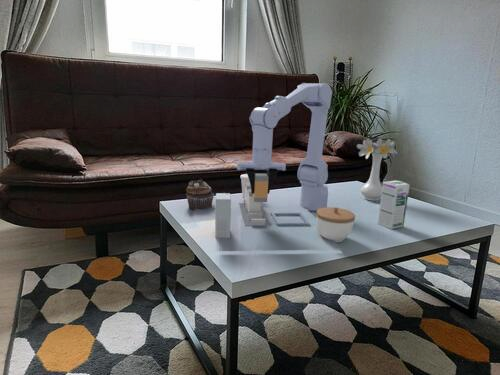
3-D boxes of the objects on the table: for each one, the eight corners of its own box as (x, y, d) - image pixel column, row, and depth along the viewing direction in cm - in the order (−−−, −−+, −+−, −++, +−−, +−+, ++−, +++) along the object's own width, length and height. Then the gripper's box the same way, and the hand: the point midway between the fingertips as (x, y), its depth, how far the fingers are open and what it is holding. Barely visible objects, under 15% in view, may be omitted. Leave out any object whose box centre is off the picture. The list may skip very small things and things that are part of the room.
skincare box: (215, 232, 101) (215, 192, 98) (229, 232, 102) (230, 193, 98) (214, 240, 95) (215, 199, 92) (230, 240, 96) (231, 199, 93)
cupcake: (198, 213, 116) (198, 185, 113) (180, 206, 122) (180, 179, 120) (219, 207, 123) (219, 180, 120) (201, 201, 129) (201, 175, 127)
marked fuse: (265, 198, 109) (266, 173, 107) (267, 202, 105) (268, 176, 103) (252, 198, 108) (253, 173, 106) (254, 202, 104) (255, 176, 102)
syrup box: (391, 229, 109) (398, 185, 105) (376, 223, 114) (383, 180, 110) (403, 227, 111) (410, 183, 108) (389, 221, 116) (395, 179, 113)
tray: (300, 216, 117) (301, 212, 117) (309, 227, 107) (309, 223, 107) (271, 216, 116) (271, 212, 116) (276, 228, 106) (277, 223, 106)
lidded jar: (328, 248, 94) (332, 215, 91) (307, 233, 103) (309, 203, 101) (359, 243, 98) (364, 211, 95) (336, 229, 107) (339, 200, 105)
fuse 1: (255, 204, 126) (256, 183, 124) (257, 207, 122) (258, 186, 120) (244, 204, 125) (245, 183, 123) (245, 207, 121) (246, 185, 119)
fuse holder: (260, 205, 128) (260, 198, 127) (270, 228, 106) (271, 219, 105) (238, 205, 127) (239, 197, 126) (245, 228, 105) (245, 220, 104)
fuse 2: (258, 211, 118) (259, 189, 116) (260, 215, 114) (261, 192, 112) (247, 211, 118) (247, 189, 115) (248, 215, 114) (249, 192, 112)
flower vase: (365, 191, 153) (372, 134, 147) (399, 203, 137) (409, 140, 131) (342, 194, 147) (349, 135, 141) (375, 206, 131) (384, 141, 125)
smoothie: (256, 198, 136) (258, 163, 133) (255, 203, 130) (257, 166, 126) (240, 197, 137) (241, 162, 133) (238, 201, 131) (239, 165, 127)
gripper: (239, 150, 98) (237, 196, 101) (289, 151, 99) (286, 196, 103) (237, 146, 104) (235, 189, 108) (284, 147, 106) (281, 190, 110)
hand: (260, 192), depth 106 cm, fingers closed on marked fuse, 4 cm apart
